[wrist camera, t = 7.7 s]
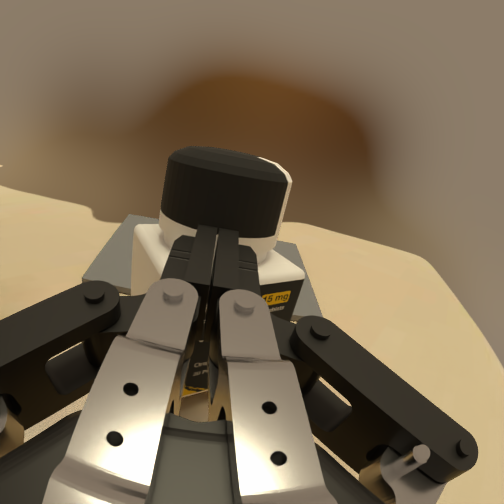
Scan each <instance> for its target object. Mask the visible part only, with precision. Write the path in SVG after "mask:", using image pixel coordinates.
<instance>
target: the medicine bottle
mask: <svg viewBox="0 0 504 504" xmlns="http://www.w3.org/2000/svg"><path fill="white" fill-rule="evenodd" d="M291 184H292V180H291V177H290V175H289V173H288V172H286V171H285V170H284V169H283V168H282V167H281V166H279V165H278V164H277V163H274V162H272V161H269V160H266V159H263V158H261V157H258V156H254V155H250V154H246V153H242V152H237V151H232V150H227V149H221V148H214V147H199V146H198V147H197V146H189V147H186V148H183V149H180V150H177V151H175V152H174V153H173V154H172V155H171V156H170V157H169V158H168V164H167V170H166V176H165V182H164V188H163V195H162V202H161V210H160V217H159V224H138V225H137V226H135V228H134V236H133V251H132V271H131V296H137V295H142V294H145V293H147V291H148V289H149V288H150V286H151V285H152V284H153V283H155V282H156V281H159V280H160V278H161V275H162V272H163V269H164V267H165V264H166V261H167V259H168V257H169V253H170V251H171V248H172V245H173V243H174V241H175V240H176V239H177V238H179V237H180V236H181V235H187V236H193V237H195V235H196V232H197V228H198V225H205V226H211V227H217V235H216V242H215V249H216V244H217V238H218V233H219V228H223V229H228V230H234V231H239V244H240V245H245V246H250V247H251V248H252V249H253V251H254V252H255V253H256V255H257V265H258V274H259V283H260V292H261V297H262V298H263V299H264V300H265V301H266V303H267V304H268V307H269V311H270V313H272V314H273V315H275V316H277V317H278V318H281V319H283V320H286V321H289V322H290V320H291V317H292V315H293V312H294V309H295V306H296V303H297V300H298V297H299V294H300V291H301V288H302V285H303V282H304V279H305V273H304V271H303V270H302V269H300V268H299V267H298V266H296V265H295V264H293V263H292V262H290V261H289V260H287V259H286V258H284V257H283V256H281V255H280V254H279V253H277V252H276V251H274V250H273V248H274V247H275V246H276V242H277V238H278V235H279V231H280V227H281V223H282V219H283V216H284V211H285V208H286V204H287V200H288V196H289V192H290V188H291ZM215 249H214V254H215ZM213 260H214V257H213ZM212 266H213V264H212ZM208 295H209V293H208ZM207 304H208V299H207ZM206 312H207V305H206V311H205V317H204V323H203V329H202V336H201V341H197V340H195V343H194V350H193V353H192V355H191V357H190V363H189V368H188V372H187V376H186V381H185V386H184V390H183V395H182V397H186V396H190V395H194V394H197V393H201V392H205V391H208V372H207V361H208V356H209V350H210V342H204V341H203V340H204V330H205V321H206Z"/></svg>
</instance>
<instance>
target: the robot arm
mask: <svg viewBox="0 0 504 504" xmlns="http://www.w3.org/2000/svg"><path fill="white" fill-rule="evenodd" d="M216 235H217V227H211V226H205V225H198V228H197V232H196V235H195V237H193V236H187V235H181V236H180V237H179V238H177V239H176V240H175V241H174V243H173V245H172V248H171V251H170V253H169V257H168V259H167V261H166V264H165V267H164V269H163V272H162V275H161V278H160V280H159V281H156V282H155V283H153V284H152V285H151V286H150V288H149V289H148V291H147V293H145V294H142V295H137V296H119V292H118V290H117V289H116V287H115V286H113V285H112V284H110V283H108V282H105V281H100V280H93V281H87V282H84V283H82V284H80V285H77V286H75V287H73V288H70V289H68V290H66V291H64V292H61V293H59V294H57V295H54V296H52V297H50V298H48V299H45V300H43V301H41V302H39V303H37V304H34V305H32V306H30V307H28V308H26V309H24V310H21V311H19V312H17V313H15V314H13V315H11V316H9V317H6V318H4V319H2V320H0V504H436V502H437V500H438V499H439V497H440V495H441V493H442V491H443V489H444V487H445V485H446V484H447V482H449V481H450V480H452V479H454V478H456V477H458V476H459V475H461V474H463V473H464V472H466V471H468V470H469V469H471V468H472V467H473V466H474V465H475V463H476V461H477V458H478V447H477V443H476V441H475V439H474V437H473V436H472V435H471V434H470V433H469V432H468V431H467V430H465V429H464V428H463V427H462V426H460V425H459V424H458V423H457V422H455V421H454V420H453V419H452V418H450V417H449V416H448V415H447V414H445V413H444V412H443V411H442V410H440V409H439V408H438V407H437V406H435V405H434V404H433V403H432V402H430V401H429V400H428V399H427V398H425V397H424V396H423V395H422V394H420V393H419V392H418V391H417V390H415V389H414V388H413V387H412V386H410V385H409V384H408V383H407V382H405V381H404V380H403V379H402V378H400V377H399V376H398V375H397V374H396V373H394V372H393V371H392V370H391V369H389V368H388V367H387V366H386V365H384V364H383V363H382V362H381V361H379V360H378V359H377V358H376V357H374V356H373V355H372V354H371V353H369V352H368V351H367V350H366V349H365V348H363V347H362V346H361V345H360V344H358V343H357V342H356V341H355V340H353V339H352V338H351V337H350V336H348V335H347V334H346V333H345V332H344V331H342V330H341V329H340V328H339V327H337V326H336V325H335V324H334V323H332V322H331V321H329V320H327V319H325V318H323V317H320V316H314V315H310V316H304V317H302V318H301V319H299V320H298V322H297V324H294V323H292V322H289V321H286V320H283V319H281V318H278V317H277V316H275V315H273V314H272V313H270V311H269V307H268V304H267V303H266V301H265V300H264V299H263V298H262V297H261V292H260V283H259V274H258V265H257V255H256V253H255V252H254V251H253V249H252V248H251V247H250V246H245V245H240V244H239V231H234V230H228V229H223V228H219V233H218V238H217V244H216V249H215V242H216ZM214 249H215V254H214ZM213 257H214V260H213ZM212 264H213V266H212ZM208 293H209V295H208ZM207 299H208V304H207ZM206 305H207V312H206V321H205V330H204V340H203V341H204V342H210V350H209V356H208V361H207V372H208V407H209V413H208V422H193V421H190V420H188V419H185V418H182V417H180V416H179V410H180V404H181V399H182V395H183V390H184V386H185V381H186V376H187V372H188V368H189V363H190V357H191V355H192V353H193V350H194V343H195V340H197V341H201V336H202V329H203V323H204V317H205V311H206ZM79 342H82V343H81V344H79V345H77V346H75V347H74V348H72V349H70V350H68V351H66V352H64V353H62V354H60V355H59V356H57V357H55V358H53V359H51V360H49V359H50V358H51V357H53V356H55V355H57V354H59V353H61V352H62V351H64V350H66V349H68V348H70V347H72V346H74V345H76V344H78V343H79ZM48 360H49V361H48ZM320 377H322V378H323V379H324V380H325V381H326V382H328V383H329V384H330V385H331V386H332V387H333V388H334V389H336V390H337V391H338V392H339V393H340V394H341V395H342V396H344V397H345V398H346V399H347V400H348V401H349V402H350V404H351V406H352V407H351V406H348V405H347V404H346V403H344V402H343V401H342V400H341V399H340V398H339V397H337V396H336V395H335V394H334V393H333V392H332V391H331V390H330V389H328V388H327V387H326V386H325V385H324V384H323V383H322V382H321V381H319V378H320ZM88 393H89V395H88V397H87V400H86V402H85V404H84V407H83V409H82V410H80V411H77V412H74V413H72V414H70V415H68V416H66V417H64V418H63V419H61V420H60V421H58V422H57V423H55V424H54V425H52V426H50V427H49V428H47V429H46V430H44V431H43V432H41V433H40V434H38V435H36V436H35V437H33V438H32V439H30V440H28V441H27V442H25V443H24V431H25V430H26V429H28V428H30V427H32V426H33V425H35V424H37V423H39V422H40V421H42V420H44V419H46V418H47V417H49V416H51V415H52V414H54V413H56V412H57V411H59V410H61V409H63V408H64V407H66V406H68V405H69V404H71V403H73V402H74V401H76V400H78V399H79V398H81V397H83V396H84V395H86V394H88ZM312 434H313V435H314V436H316V437H317V438H318V439H319V440H320V441H321V442H322V443H323V444H324V445H325V446H327V447H328V448H329V449H330V450H331V451H332V452H333V453H334V454H336V455H337V456H338V457H339V458H340V459H341V460H343V461H344V462H345V463H346V464H347V465H348V466H350V467H351V468H352V469H353V470H354V471H356V472H357V473H358V474H359V481H358V480H357V479H356V478H355V477H354V476H352V475H351V474H350V473H349V472H348V471H347V470H346V469H345V468H343V467H342V466H341V465H340V464H339V463H338V462H337V461H336V460H335V459H334V458H333V457H332V456H331V455H329V454H328V453H327V452H326V451H325V450H324V449H323V448H322V447H320V446H319V445H318V444H316V443H315V442H314V440H313V436H312Z"/></svg>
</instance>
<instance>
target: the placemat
mask: <svg viewBox="0 0 504 504" xmlns="http://www.w3.org/2000/svg"><path fill="white" fill-rule="evenodd" d="M138 224H159V219H155V218H149V217H143V216H137V215H131V214H129V215H128V216H127V218H126V219H125V221H124V222H123V223H122V224H121V225H120V226H119V228H118V229H117V230H116V232H115V233H114V234H113V235H112V237H111V238H110V239H109V241H108V242H107V243H106V245H105V246H104V247H103V249H102V250H101V251H100V253H99V254H98V256H97V257H96V258H95V260H94V261H93V263H92V264H91V265H90V267H89V268H88V270H87V271H86V273H85V274H84V275H83V277H82V283H84V282H87V281H93V280H100V281H105V282H108V283H110V284H112V285H113V286H115V287H116V289H117V290H118V292H120V293H125V294H130V295H131V271H132V251H133V236H134V228H135V226H137V225H138ZM273 250H274V251H276V252H277V253H279V254H280V255H281V256H283V257H284V258H286V259H287V260H289V261H290V262H292V263H293V264H295V265H296V266H298V267H299V268H300V269H302V270H303V271H304V273H305V279H304V282H303V285H302V288H301V291H300V294H299V297H298V300H297V303H296V306H295V309H294V312H293V315H292V317H291V320H293V321H298V320H299V319H301V318H302V317H304V316H310V315H314V316H320V317H323V316H322V313H321V310H320V308H319V305H318V302H317V299H316V297H315V294H314V291H313V288H312V286H311V283H310V280H309V278H308V275H307V272H306V270H305V267H304V264H303V262H302V259H301V257H300V254H299V251H298V249H297V246H296V244H293V243H287V242H282V241H277V242H276V246H275V247H274V248H273Z"/></svg>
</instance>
